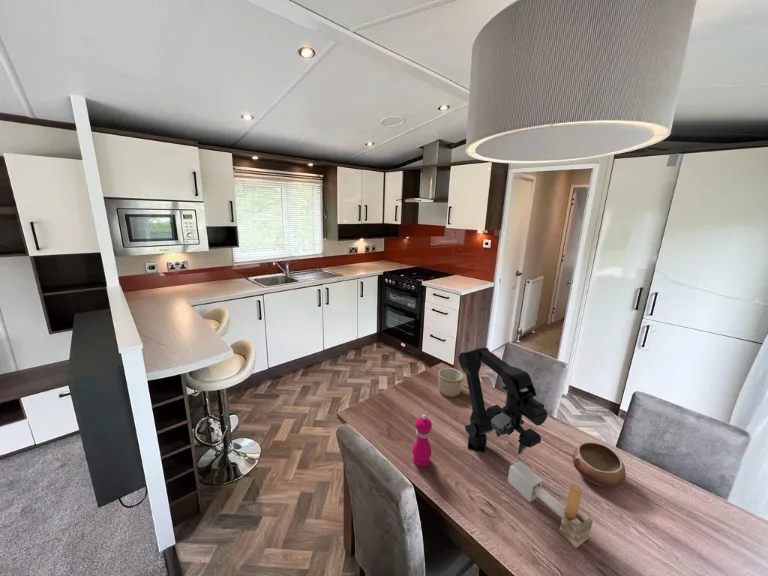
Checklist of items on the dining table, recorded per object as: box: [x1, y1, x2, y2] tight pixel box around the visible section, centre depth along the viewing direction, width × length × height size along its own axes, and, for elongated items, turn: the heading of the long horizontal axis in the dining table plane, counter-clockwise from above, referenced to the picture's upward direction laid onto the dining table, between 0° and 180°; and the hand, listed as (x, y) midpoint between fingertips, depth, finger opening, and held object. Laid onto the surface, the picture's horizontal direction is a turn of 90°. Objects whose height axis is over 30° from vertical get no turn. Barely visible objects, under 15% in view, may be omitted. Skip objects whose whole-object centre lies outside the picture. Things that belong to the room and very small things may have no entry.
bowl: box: [572, 441, 627, 488], centre depth 111 cm, size 16×16×10 cm
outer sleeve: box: [507, 461, 543, 503], centre depth 105 cm, size 9×5×6 cm, turn 28°
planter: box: [438, 367, 464, 398], centre depth 160 cm, size 13×13×10 cm
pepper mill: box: [411, 414, 432, 468], centre depth 114 cm, size 7×7×20 cm
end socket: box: [559, 511, 594, 549], centre depth 90 cm, size 5×6×6 cm
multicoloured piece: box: [533, 484, 583, 527], centre depth 95 cm, size 16×3×12 cm, turn 28°
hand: (508, 444), depth 108 cm, fingers open, 9 cm apart
